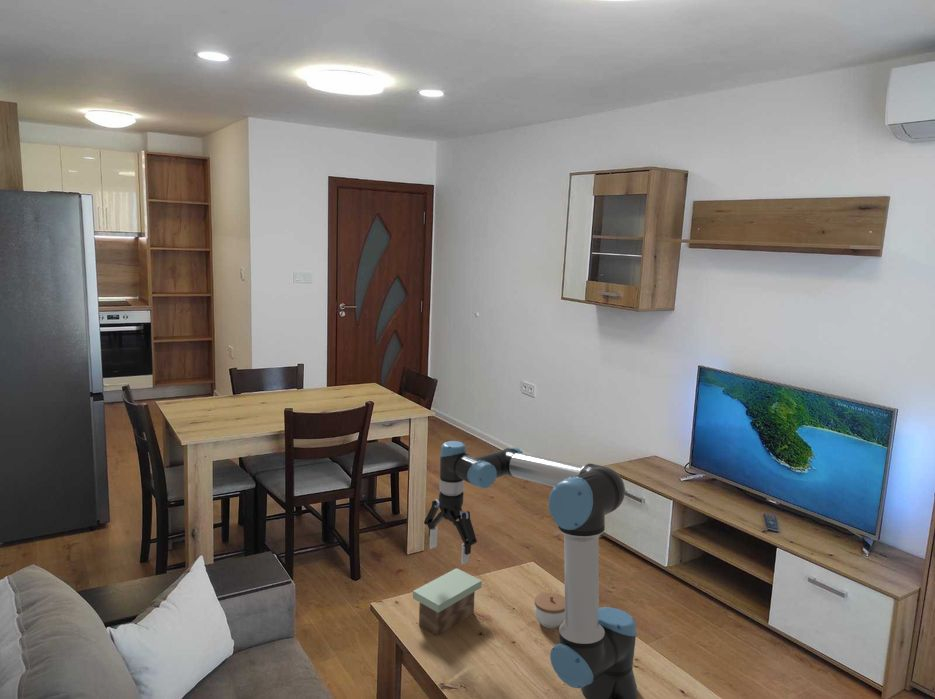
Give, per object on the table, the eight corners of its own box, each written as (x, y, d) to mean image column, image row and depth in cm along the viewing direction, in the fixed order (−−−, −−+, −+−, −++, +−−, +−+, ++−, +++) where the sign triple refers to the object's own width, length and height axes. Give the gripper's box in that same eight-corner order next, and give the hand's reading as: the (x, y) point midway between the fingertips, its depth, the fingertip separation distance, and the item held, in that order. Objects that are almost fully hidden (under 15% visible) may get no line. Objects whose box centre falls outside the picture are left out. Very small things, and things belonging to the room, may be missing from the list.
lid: (456, 577, 224) (456, 568, 223) (481, 590, 216) (481, 580, 216) (412, 601, 209) (413, 591, 208) (438, 615, 202) (438, 605, 201)
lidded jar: (565, 635, 210) (567, 608, 208) (531, 630, 212) (533, 602, 210) (567, 616, 220) (569, 590, 218) (534, 611, 222) (536, 585, 220)
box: (455, 605, 223) (456, 578, 221) (473, 615, 218) (474, 587, 216) (418, 627, 211) (419, 598, 209) (437, 638, 205) (438, 608, 204)
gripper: (490, 500, 201) (486, 565, 205) (431, 476, 217) (428, 537, 221) (473, 507, 195) (470, 574, 199) (414, 482, 211) (412, 544, 215)
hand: (448, 554), depth 210 cm, fingers open, 13 cm apart
